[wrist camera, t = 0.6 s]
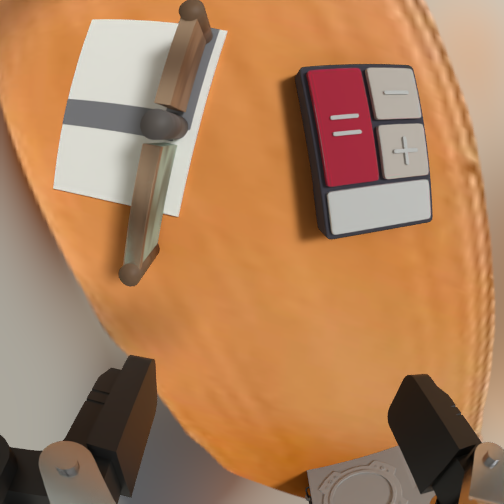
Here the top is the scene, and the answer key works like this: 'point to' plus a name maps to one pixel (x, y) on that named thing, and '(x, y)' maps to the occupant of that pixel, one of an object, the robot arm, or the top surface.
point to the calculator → (365, 147)
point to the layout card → (125, 110)
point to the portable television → (366, 481)
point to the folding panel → (147, 210)
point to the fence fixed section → (179, 74)
